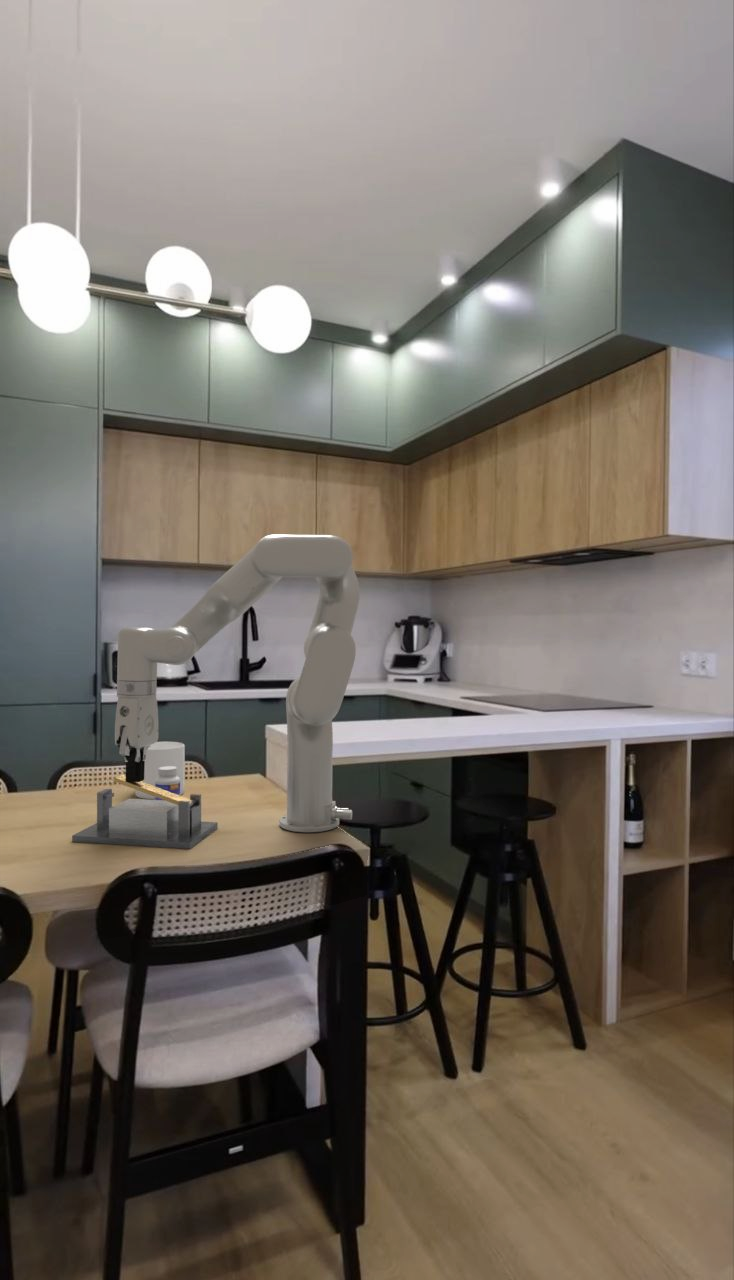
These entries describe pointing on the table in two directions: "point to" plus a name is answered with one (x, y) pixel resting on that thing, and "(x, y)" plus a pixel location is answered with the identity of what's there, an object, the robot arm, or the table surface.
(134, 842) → the base
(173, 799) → the strap
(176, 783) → the pill bottle
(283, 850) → the table surface
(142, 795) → the cup
